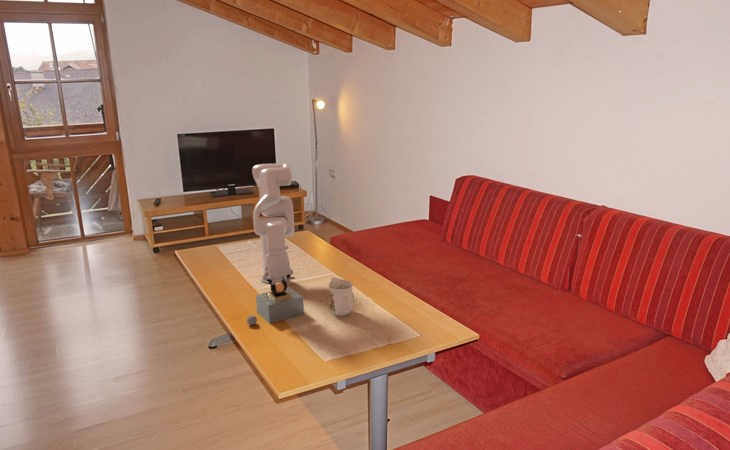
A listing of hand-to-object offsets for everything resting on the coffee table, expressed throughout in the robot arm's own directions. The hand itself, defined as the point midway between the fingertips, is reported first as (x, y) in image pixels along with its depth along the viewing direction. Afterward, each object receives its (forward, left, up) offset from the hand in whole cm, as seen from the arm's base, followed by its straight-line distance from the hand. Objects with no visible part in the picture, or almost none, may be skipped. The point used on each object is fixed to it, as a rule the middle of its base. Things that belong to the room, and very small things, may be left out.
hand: (279, 290), depth 234 cm
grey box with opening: (0, 0, -11) cm, 11 cm away
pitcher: (-22, +16, -11) cm, 29 cm away
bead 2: (0, 0, -1) cm, 1 cm away
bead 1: (+13, +4, -7) cm, 15 cm away
